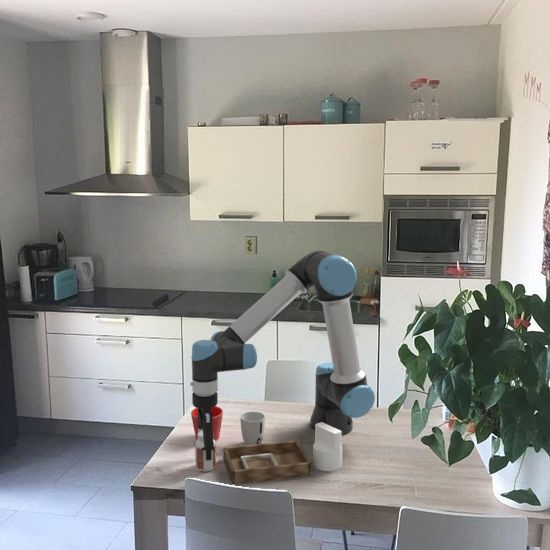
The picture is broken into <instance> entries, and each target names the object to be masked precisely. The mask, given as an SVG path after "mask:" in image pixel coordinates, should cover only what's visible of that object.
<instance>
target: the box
mask: <svg viewBox="0 0 550 550" xmlns="http://www.w3.org/2000/svg"><path fill="white" fill-rule="evenodd" d="M222 457H223V459H222V460H223V462H224V465H225V469H226V471H227V475H228V478H229V480H230V484H231V485H232V484H235V485H242V484H250V483H259V482H260V483H261V482H269V481H278V480H287V479H288V480H289V479H294V478H295V479H297V478H306V477H311V476H312V465H313V462H312V461H310V459H309V457H308V455H307V453H306V452H305V451H304V449H303V447H302V446H301V444H300V442H299V441H298V440H285V441H277V442H267V443H261V444H254V445H245V444H244V445H235V446H226V447H225V446H224V447H223V449H222Z"/></svg>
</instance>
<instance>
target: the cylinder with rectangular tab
mask: <svg viewBox="0 0 550 550" xmlns="http://www.w3.org/2000/svg"><path fill="white" fill-rule="evenodd" d="M341 434H342V431H340V430H338V429H336V428H334V427H332V426H329V425H327V424H325V423H323V422H320V423H317V424H315V431H314V443H313V444H312V446H313V447H312V465H313V467H314V468H315V469H317V470H319V471H322V472H334V471H338V470H339V469H341V468H342V466H343V445H342V435H341Z"/></svg>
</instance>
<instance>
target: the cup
mask: <svg viewBox="0 0 550 550" xmlns="http://www.w3.org/2000/svg"><path fill="white" fill-rule="evenodd" d="M239 417H240V418H239V419H240V429H241V436H242V439H243V443H244V445H254V444H262V441H263V439H264V433H265V424H266V423H265V421H266V415H265V414H264V413H263V412H259V411H245V412H243V413H242V414H240V416H239Z"/></svg>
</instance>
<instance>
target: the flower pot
mask: <svg viewBox="0 0 550 550" xmlns="http://www.w3.org/2000/svg"><path fill="white" fill-rule="evenodd" d="M211 412H212V415H213V416H212V417H213V418H212V427H213V439H214V440H215V442H216V441H218V440H220V436H221V429H222V421H223V416H224V415H223V413H224V409H222V407H220V406H217V405H216V406H215V407H212V408H211ZM190 415H191V421H192V426H193V430H194V431H193V432H194V435H195V440H196V441H197V440H198V429H200V428H198V423H197V421H198V408H196V407H195V408H193V409H192V410H191V412H190Z"/></svg>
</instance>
